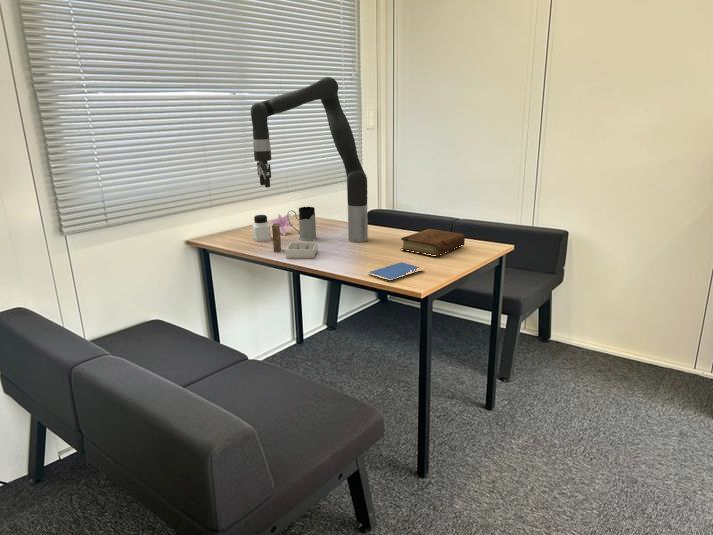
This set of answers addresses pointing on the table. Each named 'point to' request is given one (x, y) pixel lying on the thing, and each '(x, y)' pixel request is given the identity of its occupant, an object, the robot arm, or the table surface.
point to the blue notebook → (394, 270)
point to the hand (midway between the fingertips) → (265, 186)
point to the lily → (282, 223)
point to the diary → (433, 241)
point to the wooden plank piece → (276, 237)
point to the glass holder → (306, 223)
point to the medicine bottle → (261, 228)
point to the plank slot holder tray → (301, 250)
